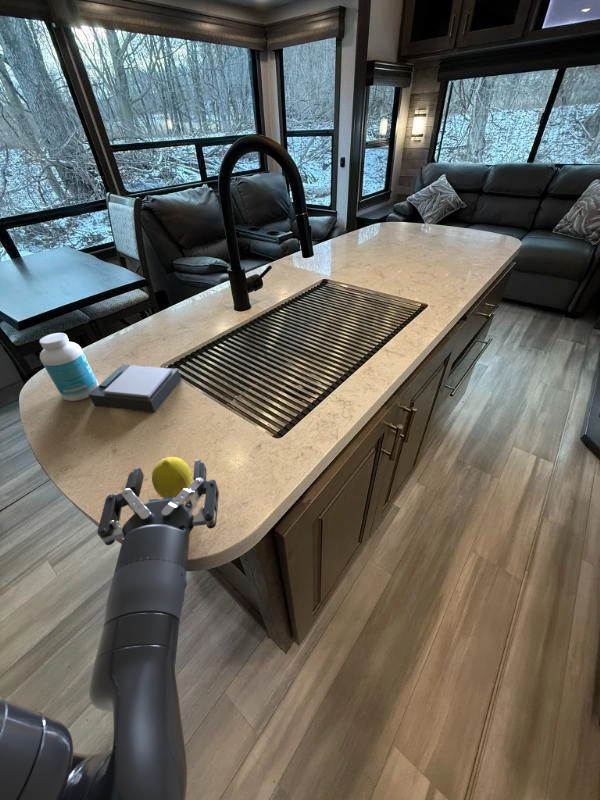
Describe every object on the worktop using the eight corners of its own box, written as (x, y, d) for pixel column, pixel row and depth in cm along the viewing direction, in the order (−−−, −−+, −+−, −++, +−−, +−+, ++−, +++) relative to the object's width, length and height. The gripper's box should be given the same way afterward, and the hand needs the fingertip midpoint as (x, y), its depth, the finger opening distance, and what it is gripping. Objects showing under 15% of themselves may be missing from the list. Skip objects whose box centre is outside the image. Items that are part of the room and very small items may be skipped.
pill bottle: (106, 389, 75) (81, 335, 67) (74, 406, 70) (43, 350, 62) (88, 379, 78) (61, 326, 70) (56, 395, 73) (23, 340, 65)
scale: (94, 406, 70) (87, 392, 68) (126, 374, 79) (121, 361, 77) (155, 412, 68) (149, 399, 66) (181, 379, 77) (177, 366, 75)
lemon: (203, 485, 54) (193, 451, 49) (183, 514, 50) (169, 480, 45) (174, 477, 55) (161, 443, 50) (152, 504, 51) (136, 470, 46)
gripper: (209, 551, 35) (213, 443, 48) (65, 576, 33) (109, 456, 46) (221, 582, 40) (222, 476, 52) (95, 606, 38) (127, 490, 50)
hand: (169, 467), depth 49 cm, fingers open, 8 cm apart
